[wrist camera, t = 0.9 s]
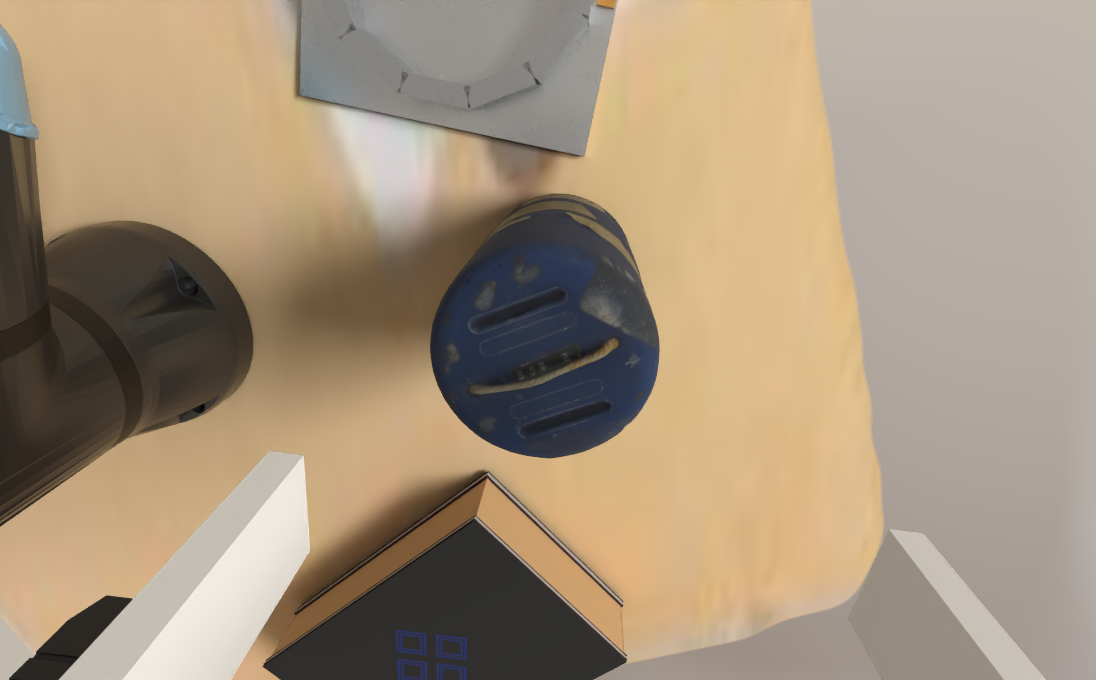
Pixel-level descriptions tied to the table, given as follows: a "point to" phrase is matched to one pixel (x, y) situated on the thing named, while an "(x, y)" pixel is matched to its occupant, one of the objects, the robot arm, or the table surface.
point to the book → (460, 604)
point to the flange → (463, 63)
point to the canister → (547, 332)
